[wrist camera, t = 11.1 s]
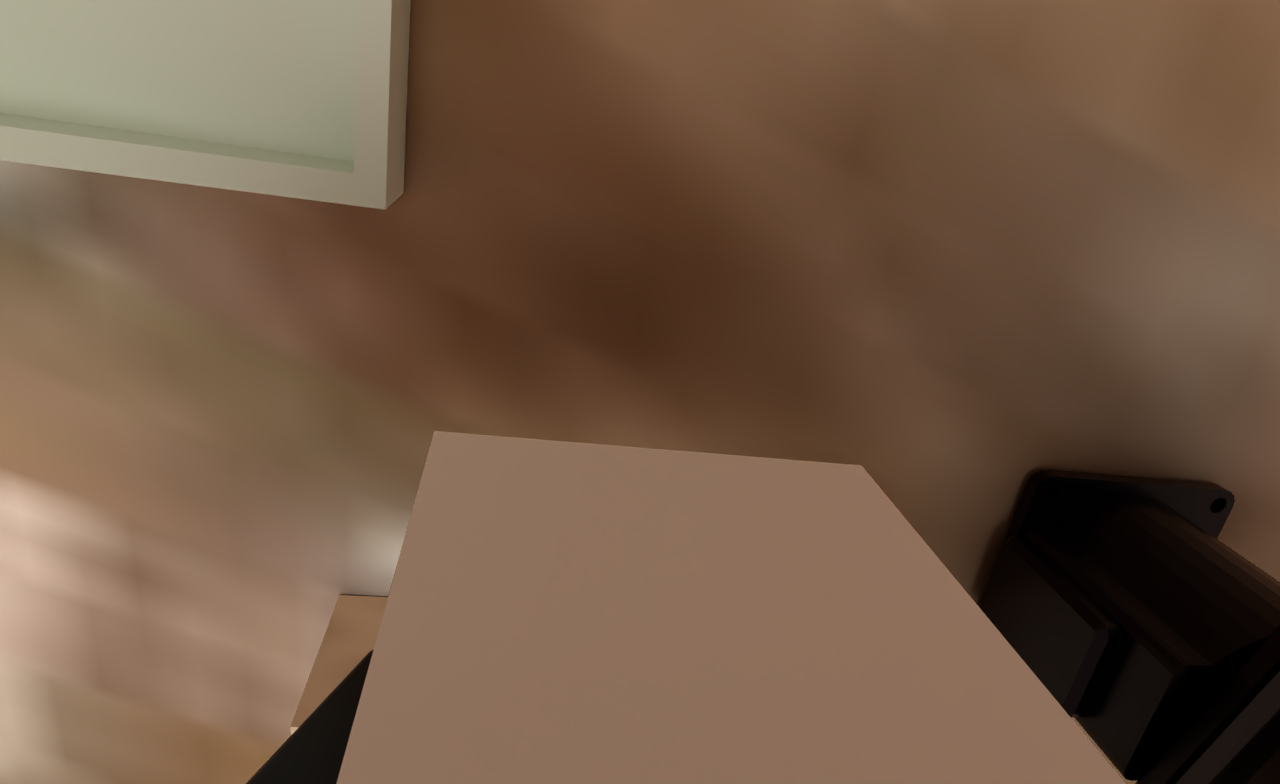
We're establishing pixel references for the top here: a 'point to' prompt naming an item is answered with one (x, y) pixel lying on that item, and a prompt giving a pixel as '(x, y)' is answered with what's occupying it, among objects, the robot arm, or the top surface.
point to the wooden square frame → (341, 649)
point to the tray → (212, 93)
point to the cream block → (686, 633)
